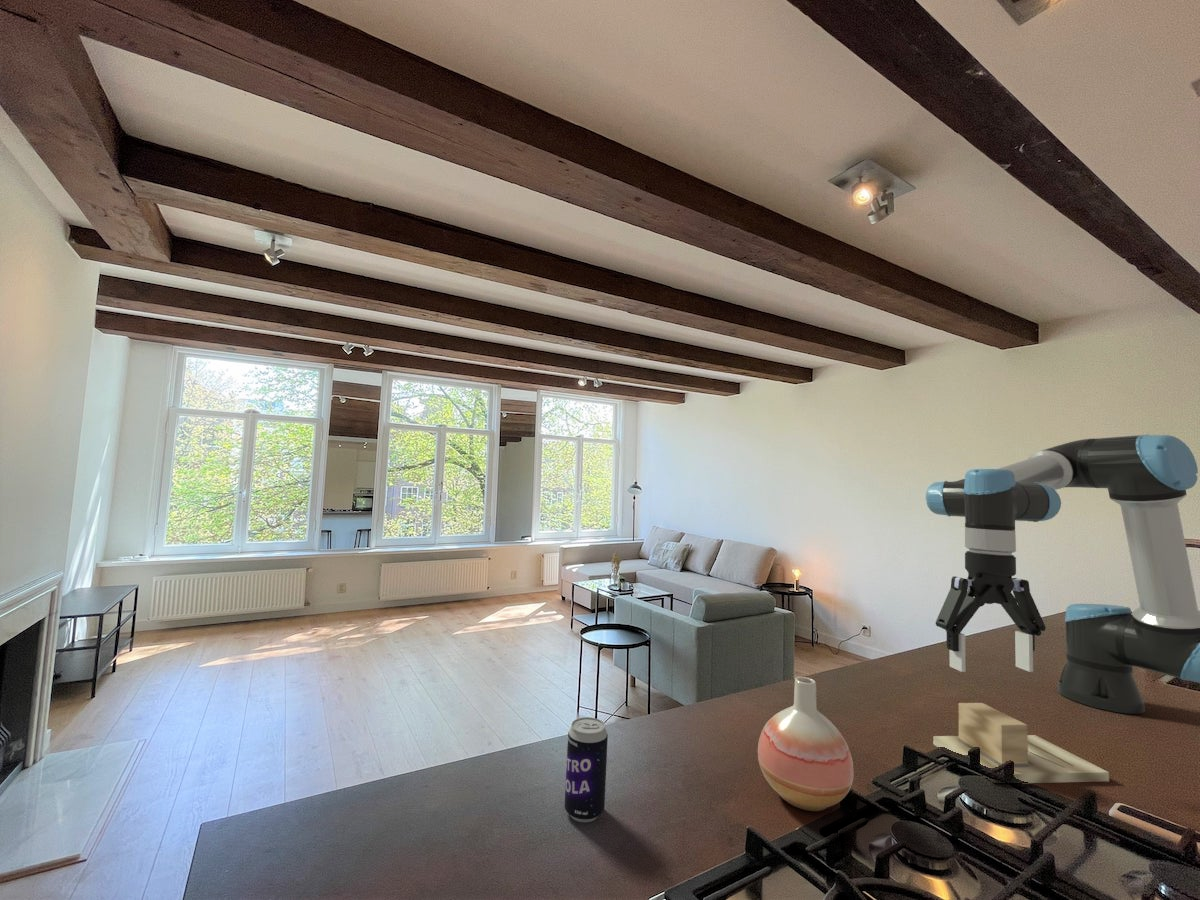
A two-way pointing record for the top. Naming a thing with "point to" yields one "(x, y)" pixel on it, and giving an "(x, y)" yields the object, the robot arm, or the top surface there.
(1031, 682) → the top surface
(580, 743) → the beverage can
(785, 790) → the vase
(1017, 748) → the block
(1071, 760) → the board
